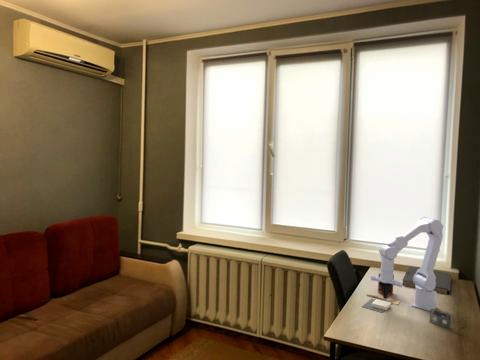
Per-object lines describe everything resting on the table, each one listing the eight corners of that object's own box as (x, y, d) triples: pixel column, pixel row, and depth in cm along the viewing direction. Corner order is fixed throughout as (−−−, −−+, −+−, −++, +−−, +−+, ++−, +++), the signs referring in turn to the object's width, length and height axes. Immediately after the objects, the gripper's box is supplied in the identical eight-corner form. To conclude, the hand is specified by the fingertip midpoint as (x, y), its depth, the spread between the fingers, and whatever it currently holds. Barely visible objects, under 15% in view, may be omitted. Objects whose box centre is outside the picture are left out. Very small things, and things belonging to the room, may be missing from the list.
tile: (391, 302, 182) (376, 299, 187) (386, 307, 177) (371, 303, 181) (390, 306, 183) (376, 302, 187) (386, 310, 177) (371, 306, 182)
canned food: (377, 294, 199) (378, 274, 198) (377, 289, 206) (379, 269, 206) (392, 296, 196) (394, 276, 195) (392, 291, 204) (394, 271, 203)
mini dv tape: (450, 327, 162) (451, 314, 161) (449, 328, 161) (450, 315, 160) (431, 321, 168) (431, 308, 167) (429, 322, 167) (430, 309, 166)
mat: (391, 304, 186) (391, 303, 186) (382, 312, 175) (382, 312, 175) (371, 298, 192) (371, 298, 192) (361, 306, 181) (361, 306, 181)
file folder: (409, 265, 242) (451, 273, 230) (408, 271, 242) (451, 279, 230) (401, 279, 214) (449, 288, 202) (401, 286, 214) (449, 296, 202)
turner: (400, 302, 189) (400, 300, 189) (397, 305, 185) (397, 303, 185) (368, 294, 199) (369, 292, 199) (365, 296, 195) (365, 295, 195)
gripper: (369, 269, 181) (367, 296, 182) (400, 275, 172) (398, 304, 173) (374, 266, 187) (372, 292, 188) (404, 272, 178) (402, 300, 178)
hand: (385, 297), depth 181 cm, fingers closed
